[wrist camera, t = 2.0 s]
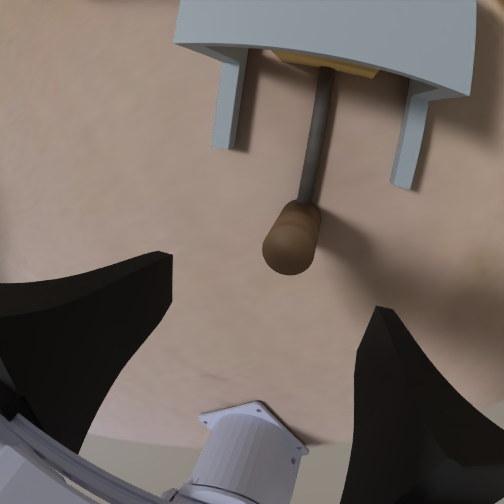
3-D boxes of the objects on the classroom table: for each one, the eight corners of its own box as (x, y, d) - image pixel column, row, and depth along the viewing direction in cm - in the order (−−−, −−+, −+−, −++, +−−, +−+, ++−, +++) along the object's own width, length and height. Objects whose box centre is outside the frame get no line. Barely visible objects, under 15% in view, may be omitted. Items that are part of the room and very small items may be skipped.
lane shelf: (405, 185, 17) (439, 223, 10) (218, 144, 18) (160, 162, 12) (434, -24, 11) (470, -74, 4) (250, -54, 12) (209, -109, 6)
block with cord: (294, -12, 13) (278, -50, 9) (381, 2, 13) (394, -32, 8) (257, 227, 20) (232, 261, 16) (336, 246, 19) (334, 287, 15)
